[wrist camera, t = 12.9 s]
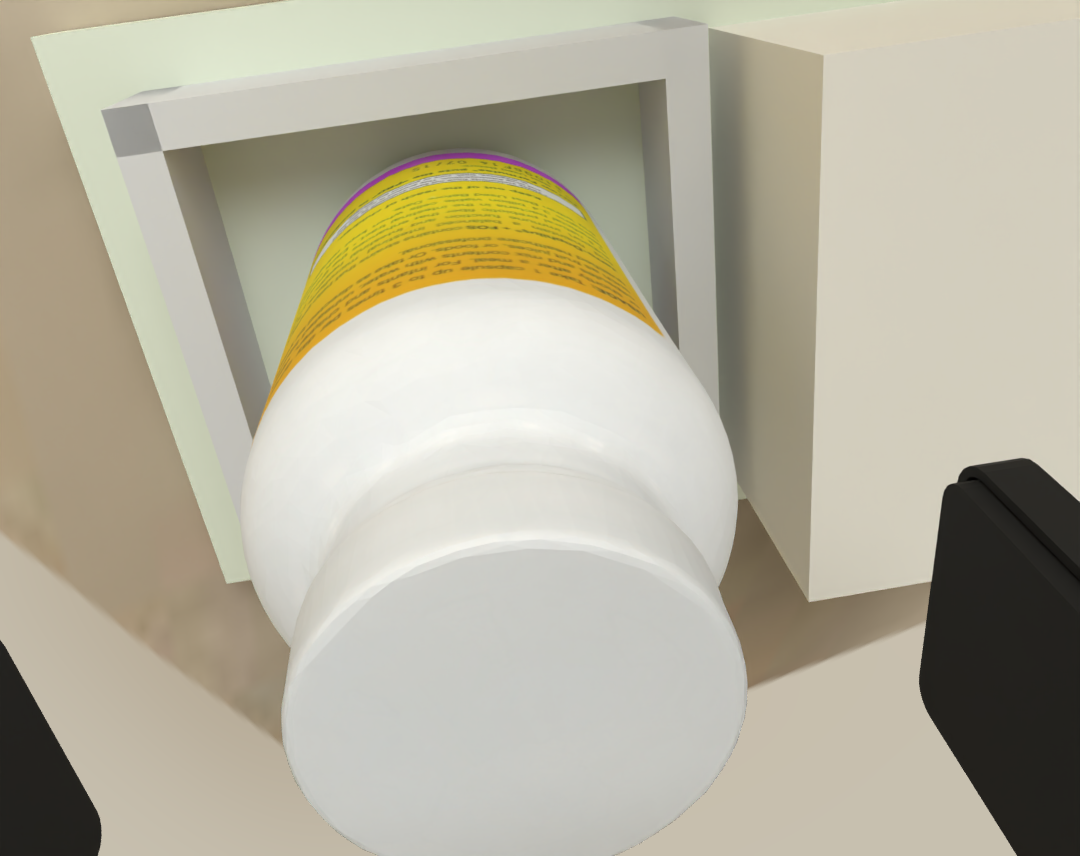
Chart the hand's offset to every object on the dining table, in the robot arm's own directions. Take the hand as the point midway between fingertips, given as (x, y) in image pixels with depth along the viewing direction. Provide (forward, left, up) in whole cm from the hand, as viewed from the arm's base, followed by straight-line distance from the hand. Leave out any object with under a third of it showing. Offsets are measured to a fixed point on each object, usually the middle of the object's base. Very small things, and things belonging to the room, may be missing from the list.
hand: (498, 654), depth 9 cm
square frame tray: (-4, +1, -14) cm, 14 cm away
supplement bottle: (0, 0, -13) cm, 13 cm away
